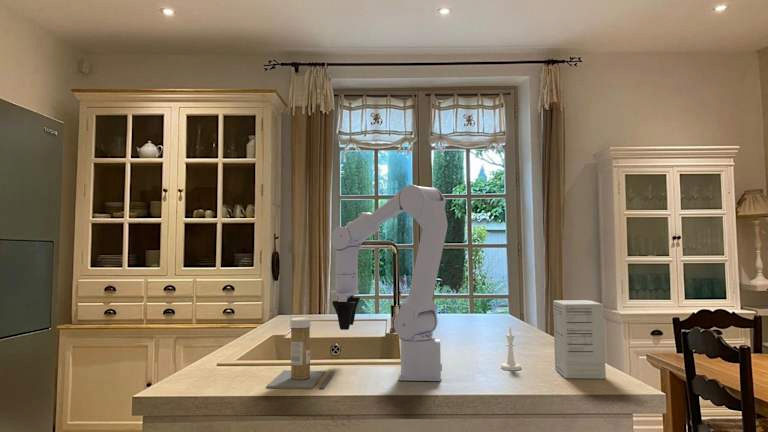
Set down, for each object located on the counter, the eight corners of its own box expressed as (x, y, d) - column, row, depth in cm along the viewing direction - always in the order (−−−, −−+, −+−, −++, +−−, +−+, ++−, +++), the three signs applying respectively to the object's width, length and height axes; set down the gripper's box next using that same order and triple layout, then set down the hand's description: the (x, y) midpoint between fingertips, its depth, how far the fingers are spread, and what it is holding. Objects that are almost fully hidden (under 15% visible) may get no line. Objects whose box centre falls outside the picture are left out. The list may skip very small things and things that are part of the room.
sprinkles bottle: (314, 377, 121) (314, 318, 122) (297, 381, 118) (297, 320, 119) (303, 374, 125) (303, 316, 125) (286, 377, 122) (286, 318, 122)
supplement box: (606, 379, 120) (605, 304, 121) (565, 379, 120) (563, 304, 121) (592, 369, 129) (590, 299, 130) (553, 369, 130) (552, 299, 131)
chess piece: (500, 370, 129) (499, 328, 130) (501, 365, 134) (500, 325, 134) (521, 371, 128) (520, 329, 129) (521, 366, 133) (520, 325, 133)
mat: (324, 372, 128) (324, 370, 128) (312, 388, 114) (312, 386, 114) (283, 372, 129) (283, 370, 129) (266, 388, 115) (266, 386, 115)
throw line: (335, 372, 128) (335, 371, 128) (323, 388, 114) (323, 387, 114) (331, 372, 128) (331, 371, 128) (319, 388, 114) (319, 387, 114)
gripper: (336, 272, 145) (336, 322, 144) (326, 275, 131) (326, 331, 130) (361, 272, 144) (362, 322, 144) (354, 275, 130) (354, 331, 129)
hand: (346, 327), depth 137 cm, fingers open, 7 cm apart
